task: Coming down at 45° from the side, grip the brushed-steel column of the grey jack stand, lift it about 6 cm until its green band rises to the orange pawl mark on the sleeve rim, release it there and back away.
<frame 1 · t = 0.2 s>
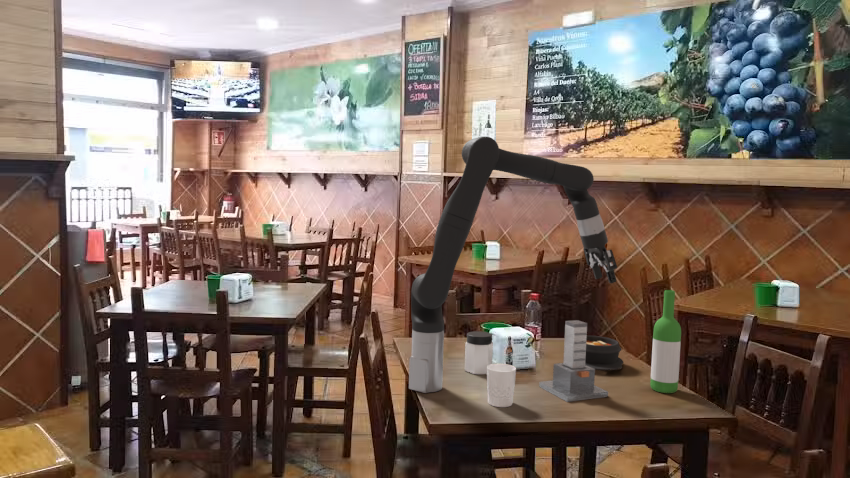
hand: (605, 280, 195), 31 cm above the table, tool tilted 20°, fingers open, 8 cm apart
stand base: (572, 391, 185), on the table
white cup: (500, 404, 173), on the table
column: (574, 354, 184), point 11 cm above the table, slide at 0.0 cm
wine bottle: (663, 390, 189), on the table
casserole: (594, 365, 215), on the table
jar: (478, 371, 204), on the table
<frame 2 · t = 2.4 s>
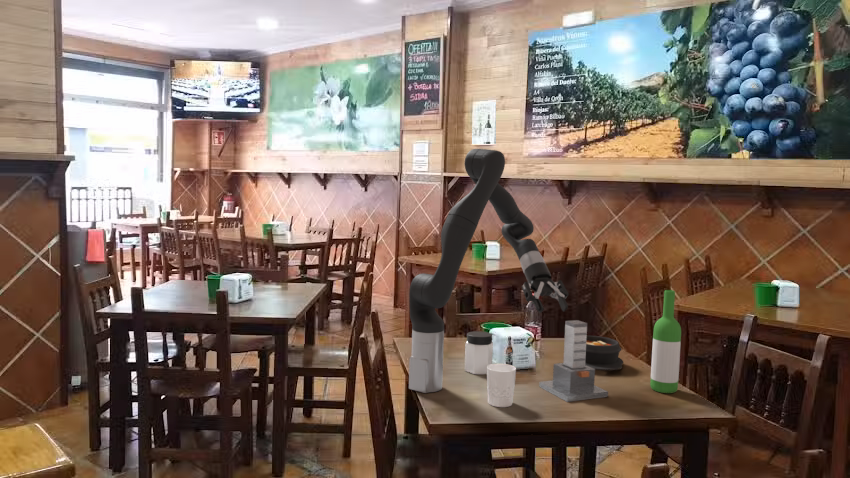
hand: (553, 310, 194), 22 cm above the table, tool tilted 45°, fingers open, 8 cm apart
nothing on the table moved.
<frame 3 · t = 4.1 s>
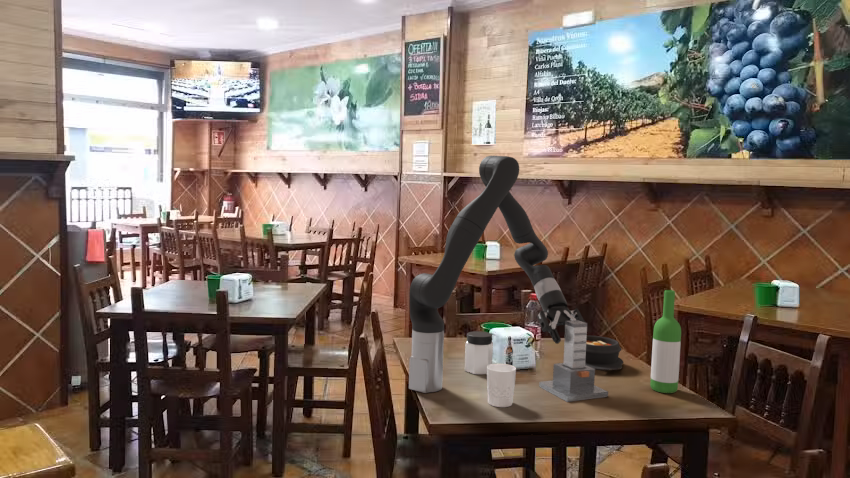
hand: (570, 341, 186), 14 cm above the table, tool tilted 45°, fingers open, 8 cm apart
nothing on the table moved.
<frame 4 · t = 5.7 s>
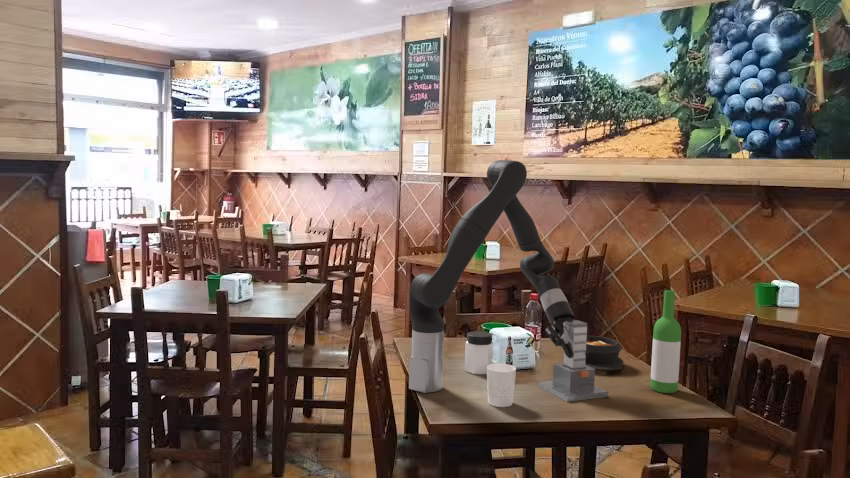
hand: (578, 356, 182), 11 cm above the table, tool tilted 45°, fingers closed on column, 4 cm apart
column: (574, 354, 184), point 11 cm above the table, slide at 0.0 cm, touching gripper
everything else where it was.
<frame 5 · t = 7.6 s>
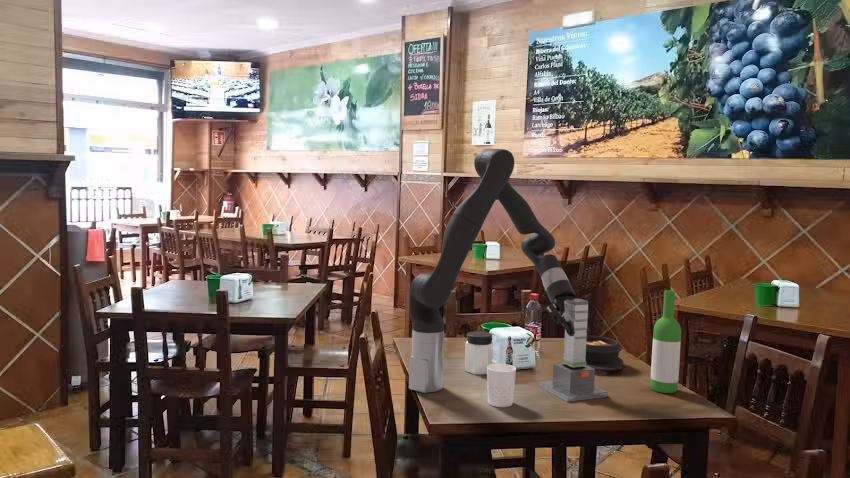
hand: (579, 334, 182), 18 cm above the table, tool tilted 45°, fingers closed on column, 4 cm apart
column: (575, 332, 184), point 18 cm above the table, slide at 6.4 cm, touching gripper
everything else where it was.
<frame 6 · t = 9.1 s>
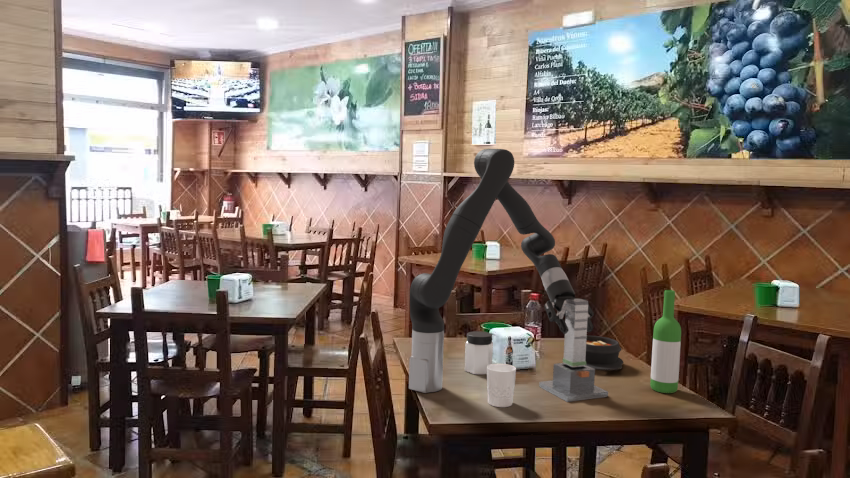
hand: (578, 331, 182), 18 cm above the table, tool tilted 45°, fingers open, 8 cm apart
column: (575, 332, 184), point 18 cm above the table, slide at 6.5 cm
everything else where it was.
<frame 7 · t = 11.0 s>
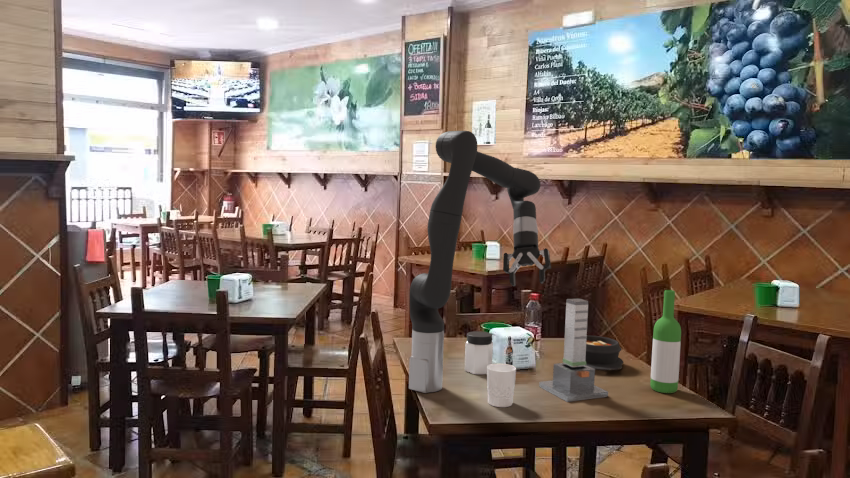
hand: (527, 284, 191), 30 cm above the table, tool tilted 25°, fingers open, 8 cm apart
nothing on the table moved.
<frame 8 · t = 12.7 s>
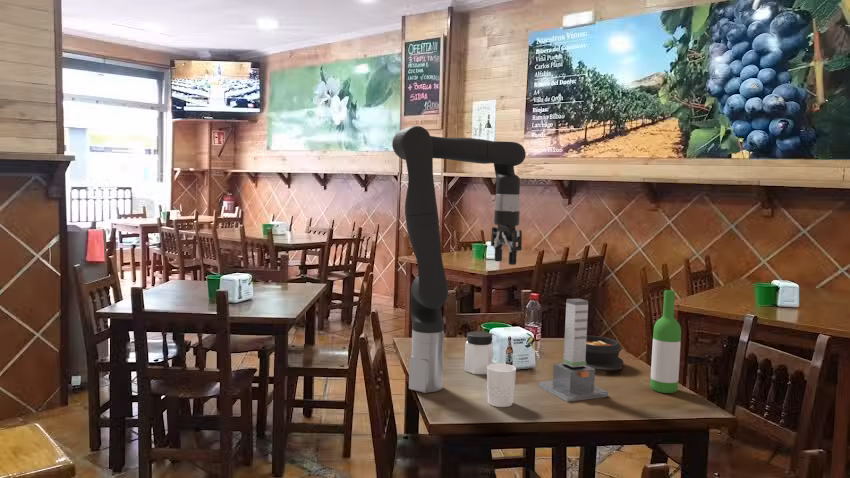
hand: (505, 262, 192), 36 cm above the table, tool pointing down, fingers open, 8 cm apart
nothing on the table moved.
at the end: column slide at 6.5 cm; the gripper is holding nothing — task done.
